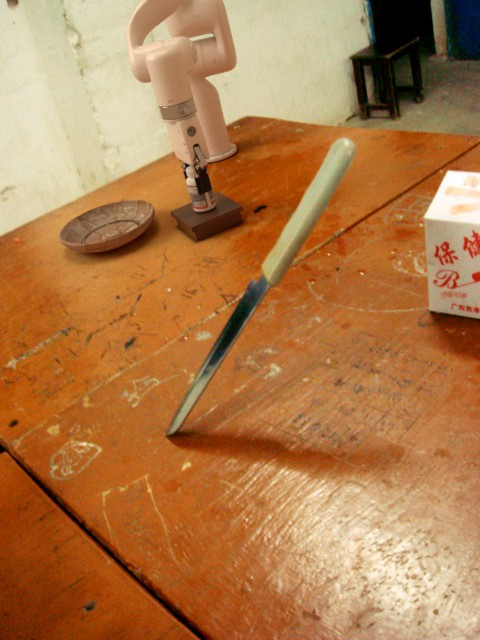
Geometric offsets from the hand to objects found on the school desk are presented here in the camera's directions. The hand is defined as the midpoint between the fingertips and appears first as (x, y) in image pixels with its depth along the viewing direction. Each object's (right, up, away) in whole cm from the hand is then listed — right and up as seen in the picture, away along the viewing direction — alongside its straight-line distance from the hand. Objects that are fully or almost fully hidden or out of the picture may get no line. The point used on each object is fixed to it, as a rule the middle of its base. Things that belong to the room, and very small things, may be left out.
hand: (199, 188), depth 144 cm
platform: (+2, -7, +5) cm, 9 cm away
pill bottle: (+1, -4, +3) cm, 5 cm away
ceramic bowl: (-22, -10, +11) cm, 26 cm away
